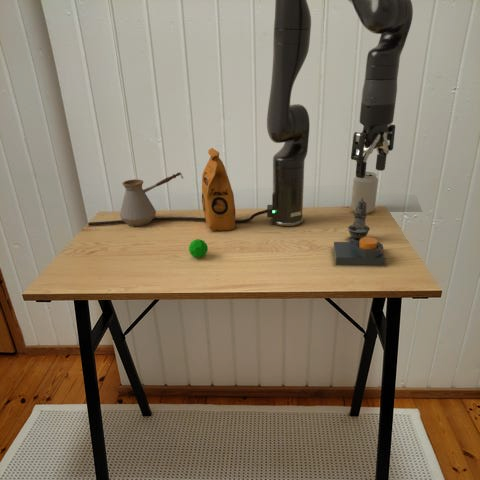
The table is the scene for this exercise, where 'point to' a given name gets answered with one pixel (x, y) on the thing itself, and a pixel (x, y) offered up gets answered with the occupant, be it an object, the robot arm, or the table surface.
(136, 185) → the coffee pot
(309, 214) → the table surface
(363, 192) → the can
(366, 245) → the button
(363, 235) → the salt shaker
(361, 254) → the button box
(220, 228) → the coffee package
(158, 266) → the table surface
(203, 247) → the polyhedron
